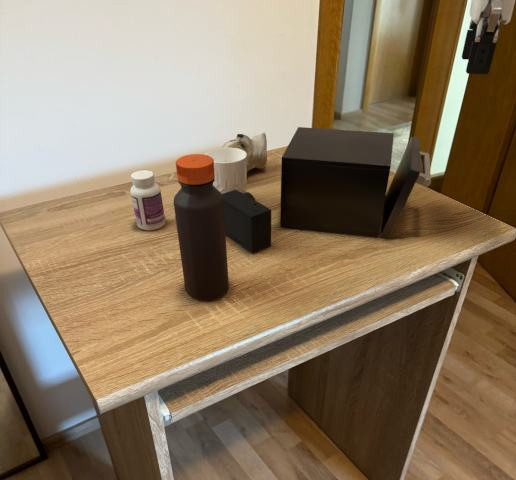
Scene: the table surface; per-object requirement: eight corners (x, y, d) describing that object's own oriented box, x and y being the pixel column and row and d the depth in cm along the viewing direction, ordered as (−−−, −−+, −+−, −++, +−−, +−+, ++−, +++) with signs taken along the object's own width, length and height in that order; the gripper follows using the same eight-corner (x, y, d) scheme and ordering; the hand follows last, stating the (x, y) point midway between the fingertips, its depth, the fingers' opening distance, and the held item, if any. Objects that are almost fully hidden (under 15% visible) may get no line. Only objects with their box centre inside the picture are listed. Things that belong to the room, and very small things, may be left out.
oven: (382, 199, 99) (394, 133, 90) (378, 237, 87) (390, 165, 78) (295, 191, 102) (298, 126, 93) (280, 227, 90) (281, 157, 82)
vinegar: (206, 272, 79) (194, 147, 66) (238, 287, 76) (232, 158, 63) (176, 291, 75) (157, 162, 62) (207, 307, 72) (194, 175, 59)
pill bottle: (169, 218, 93) (162, 169, 87) (161, 232, 90) (152, 181, 83) (142, 217, 94) (133, 167, 88) (133, 230, 90) (122, 179, 84)
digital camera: (277, 244, 86) (277, 207, 81) (252, 254, 83) (251, 216, 79) (242, 222, 92) (241, 186, 87) (218, 231, 89) (216, 195, 85)
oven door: (404, 204, 98) (433, 143, 90) (403, 243, 87) (436, 177, 78) (384, 198, 98) (411, 136, 90) (380, 236, 87) (410, 169, 78)
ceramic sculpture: (280, 130, 104) (223, 151, 98) (281, 170, 110) (228, 192, 104) (249, 119, 110) (194, 138, 104) (252, 157, 116) (200, 177, 110)
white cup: (202, 210, 96) (197, 159, 89) (219, 194, 101) (216, 145, 95) (238, 216, 94) (236, 165, 87) (254, 199, 99) (253, 150, 93)
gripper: (553, -81, 57) (507, 80, 68) (529, -82, 70) (493, 55, 81) (486, -80, 58) (451, 78, 70) (474, -81, 71) (446, 53, 82)
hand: (474, 66), depth 75 cm, fingers open, 9 cm apart
